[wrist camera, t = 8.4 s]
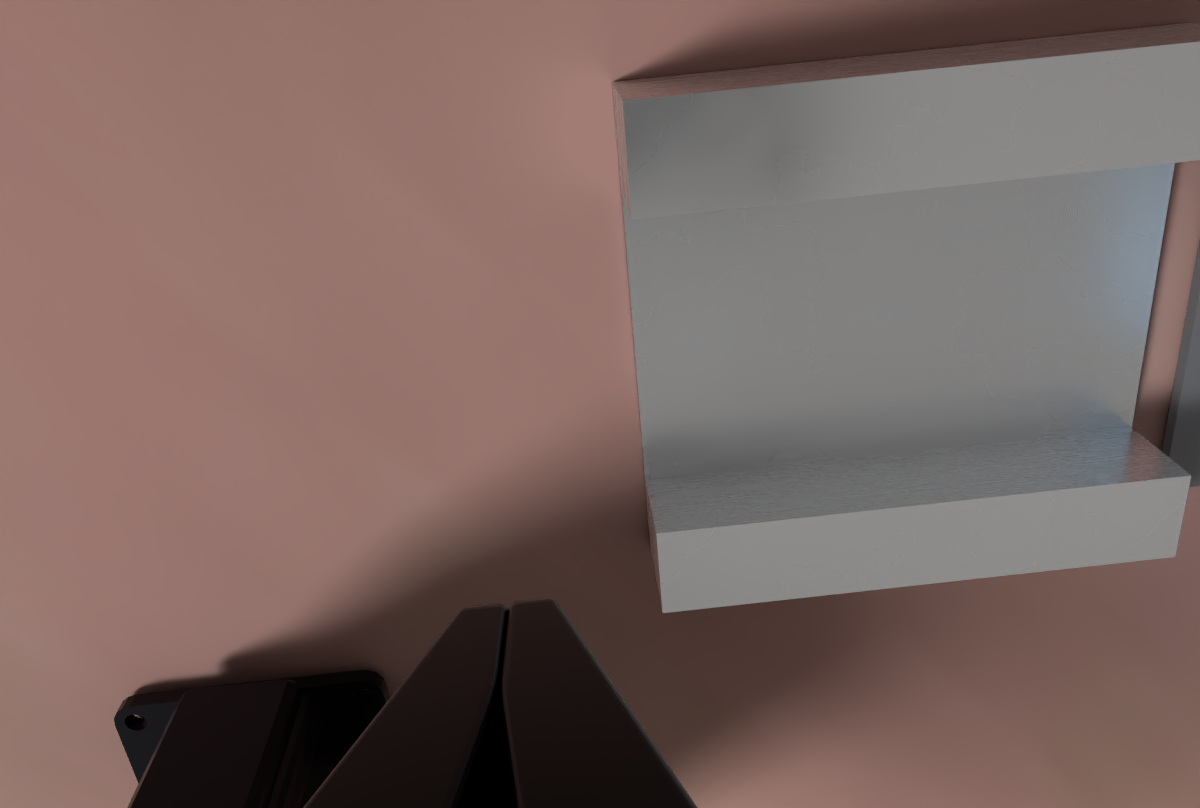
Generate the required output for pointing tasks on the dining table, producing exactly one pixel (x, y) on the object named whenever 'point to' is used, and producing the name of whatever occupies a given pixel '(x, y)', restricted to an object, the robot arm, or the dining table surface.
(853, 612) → the dining table surface
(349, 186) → the dining table surface
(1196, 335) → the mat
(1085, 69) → the chute
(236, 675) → the dining table surface
